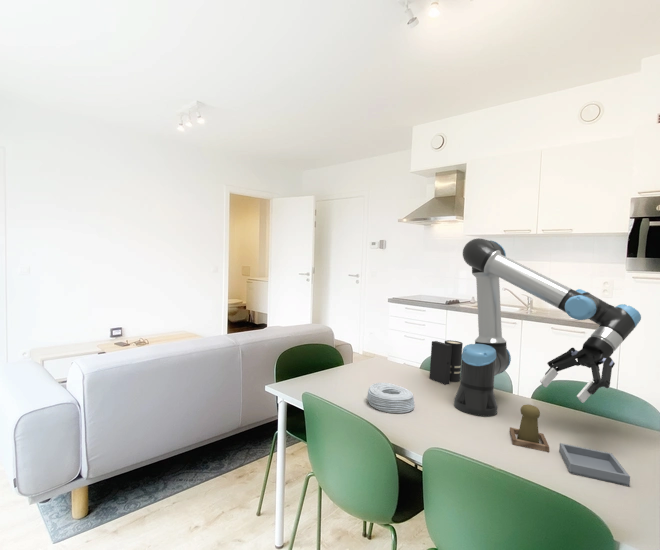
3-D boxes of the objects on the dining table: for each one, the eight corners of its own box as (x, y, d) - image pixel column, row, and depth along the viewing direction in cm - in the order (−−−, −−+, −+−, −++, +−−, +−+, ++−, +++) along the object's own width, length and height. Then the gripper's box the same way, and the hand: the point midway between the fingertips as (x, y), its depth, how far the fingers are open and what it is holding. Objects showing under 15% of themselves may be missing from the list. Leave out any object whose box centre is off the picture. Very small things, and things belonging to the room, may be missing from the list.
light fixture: (465, 381, 170) (467, 343, 170) (445, 385, 163) (448, 345, 163) (448, 375, 179) (450, 339, 178) (428, 378, 171) (431, 341, 171)
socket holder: (512, 444, 109) (512, 439, 109) (509, 431, 118) (509, 427, 118) (548, 452, 106) (549, 447, 106) (542, 438, 114) (543, 433, 114)
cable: (369, 394, 146) (370, 379, 146) (413, 400, 143) (414, 384, 142) (364, 410, 129) (365, 394, 129) (414, 417, 125) (416, 400, 125)
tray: (570, 473, 95) (570, 463, 95) (559, 451, 106) (559, 442, 106) (629, 486, 90) (630, 476, 90) (611, 462, 102) (611, 453, 102)
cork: (513, 436, 114) (515, 402, 114) (531, 436, 115) (533, 402, 115) (524, 446, 108) (527, 409, 108) (544, 446, 109) (546, 410, 109)
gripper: (649, 362, 106) (605, 416, 102) (573, 343, 130) (535, 386, 127) (636, 344, 104) (591, 397, 101) (562, 328, 128) (523, 371, 125)
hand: (560, 391), depth 114 cm, fingers open, 13 cm apart
